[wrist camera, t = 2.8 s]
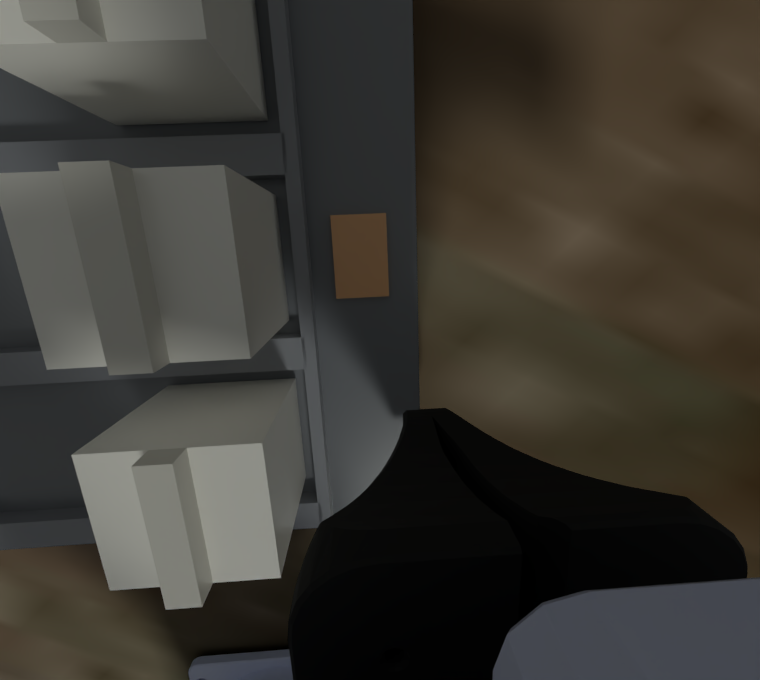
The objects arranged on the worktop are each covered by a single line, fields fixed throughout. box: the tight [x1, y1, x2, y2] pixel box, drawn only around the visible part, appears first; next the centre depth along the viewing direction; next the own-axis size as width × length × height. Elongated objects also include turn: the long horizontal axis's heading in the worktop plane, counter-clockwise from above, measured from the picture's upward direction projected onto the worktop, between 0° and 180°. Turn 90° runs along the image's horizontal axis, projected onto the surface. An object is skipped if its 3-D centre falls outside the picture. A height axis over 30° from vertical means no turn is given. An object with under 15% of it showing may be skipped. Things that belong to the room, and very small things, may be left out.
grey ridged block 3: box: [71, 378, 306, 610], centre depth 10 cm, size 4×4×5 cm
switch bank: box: [0, 0, 420, 550], centre depth 11 cm, size 19×18×2 cm
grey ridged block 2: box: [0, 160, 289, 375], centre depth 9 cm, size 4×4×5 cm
